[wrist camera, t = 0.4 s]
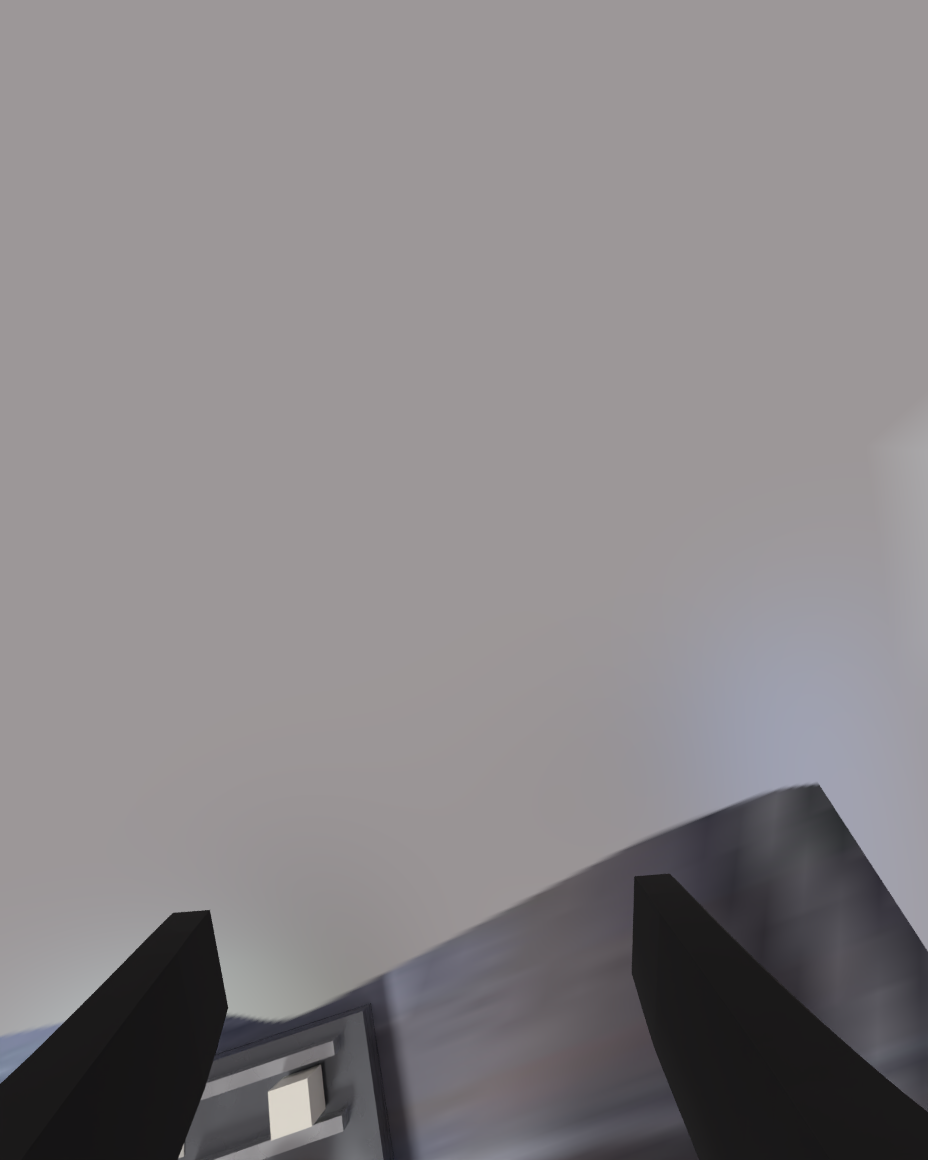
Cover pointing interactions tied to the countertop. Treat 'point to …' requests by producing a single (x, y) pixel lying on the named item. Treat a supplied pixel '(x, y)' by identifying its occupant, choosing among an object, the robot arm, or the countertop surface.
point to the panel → (245, 1074)
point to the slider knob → (296, 1102)
